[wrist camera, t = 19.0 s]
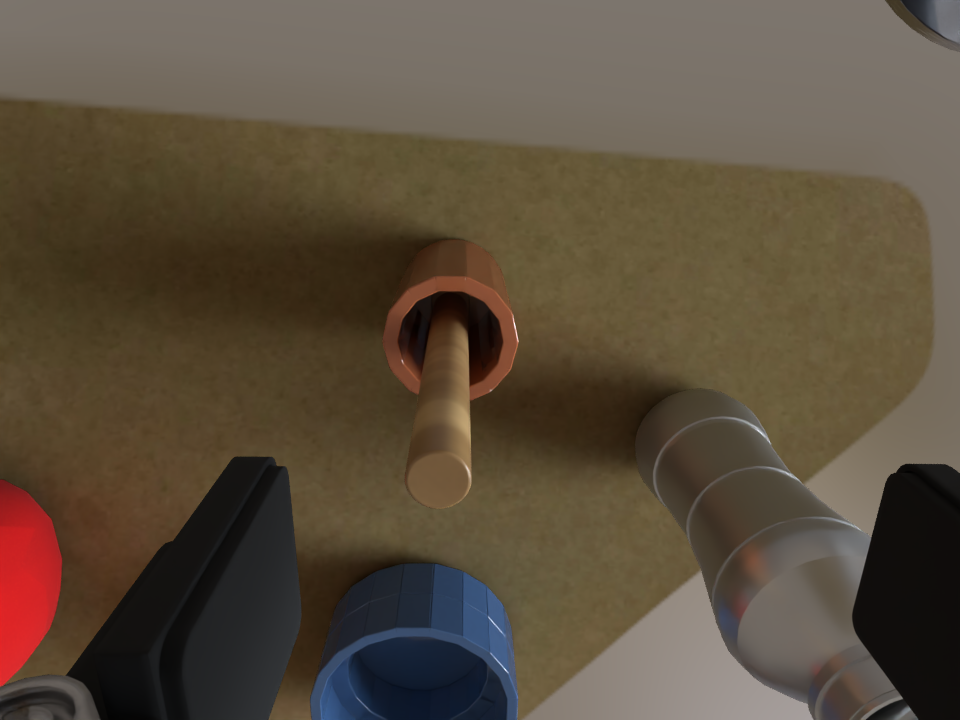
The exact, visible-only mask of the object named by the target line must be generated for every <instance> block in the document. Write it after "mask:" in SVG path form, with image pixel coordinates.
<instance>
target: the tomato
mask: <svg viewBox="0 0 960 720" xmlns="http://www.w3.org/2000/svg"><path fill="white" fill-rule="evenodd" d="M61 570H62V556H61V553H60V549H59V545H58V542H57V538H56V534H55V530H54V527H53V523H52V519H51V518H50V517H49V516H48V515H47V514H46V513H45V511H44V510H43V509H42V508H41V507H40V506H39V505H38V504H37V502H36V501H35V500H34V499H33V498H32V497H31V496H30V495H29V494H28V492H27V491H25V490H23V489H21V488H19V487H17V486H15V485H13V484H11V483H9V482H7V481H5V480H2V479H0V687H1V686H3V685H4V684H5V683H6V682H7V681H8V680H9V679H10V678H11V677H12V676H13V675H14V674H15V673H16V672H17V671H18V670H19V669H20V668H21V667H22V666H23V665H24V663H25V662H26V661H27V660H28V658H29V657H30V656H31V654H32V653H33V652H34V650H35V649H36V648H37V646H38V645H39V643H40V642H41V641H42V639H43V638H44V636H45V635H46V633H47V632H48V630H49V629H50V627H51V624H52V621H53V618H54V615H55V613H56V608H57V603H58V598H59V593H60V588H61Z"/></svg>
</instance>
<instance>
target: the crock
mask: <svg viewBox="0 0 960 720" xmlns="http://www.w3.org/2000/svg"><path fill="white" fill-rule="evenodd" d="M438 291H456V292H464V293H467V294H469V295H470V321H469V330H468V350H469V391H470V401H471V400H473V399H476V398H478V397H480V396H482V395H485V394H487V393H489V392H491V390H493V389H494V388H495V387H496V386H497V385H498V384H499V383H500V382H501V380H502V379H503V378H504V377H505V376H506V375H507V374H508V373H509V371H510V369H511V368H512V365H513V361H514V357H515V354H516V350H517V346H518V336H517V331H516V326H515V321H514V316H513V312H512V308H511V305H510V301H509V297H508V294H507V290H506V286H505V283H504V279H503V275H502V272H501V269H500V268H499V267H498V265H497V263H496V262H495V260H494V259H493V258H492V256H491V255H490V254H489V253H488V252H487V251H485V250H484V249H483V248H481V247H480V246H478V245H476V244H474V243H471V242H469V241H465V240H460V239H446V240H441V241H438V242H435V243H432V244H430V245H428V246H427V247H425V248H424V249H422V250H421V251H420V252H419V253H418V254H417V255H416V256H415V257H414V258H413V260H412V261H411V263H410V264H409V266H408V267H407V268H406V270H405V273H404V275H403V278H402V280H401V283H400V285H399V287H398V290H397V292H396V295H395V297H394V300H393V302H392V305H391V307H390V309H389V312H388V314H387V319H386V324H385V329H384V334H383V339H382V340H383V342H382V343H383V346H384V350H385V354H386V357H387V361H388V365H389V368H390V369H391V371H392V372H393V373H394V374H395V375H396V377H397V378H398V379H399V380H400V381H401V382H402V383H403V385H404V386H405V387H406V388H407V389H408V390H410V391H411V392H413V393H415V394H417V395H419V389H420V383H421V377H422V371H423V365H424V359H425V353H426V347H427V341H428V335H429V329H430V323H431V295H432V294H434V293H436V292H438Z"/></svg>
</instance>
